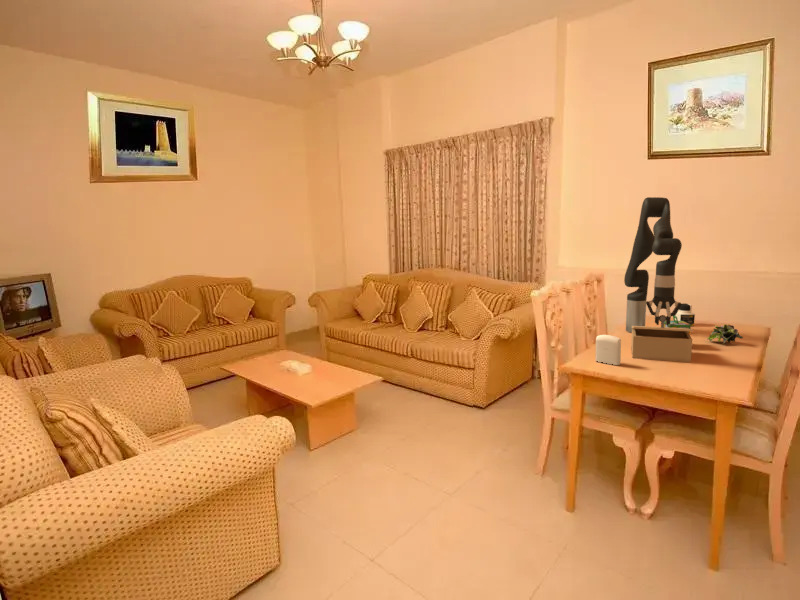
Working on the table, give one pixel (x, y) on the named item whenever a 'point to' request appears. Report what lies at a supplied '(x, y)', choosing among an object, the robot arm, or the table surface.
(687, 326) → the chalk box
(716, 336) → the green leafy plant
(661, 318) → the carton flap
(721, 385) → the table surface
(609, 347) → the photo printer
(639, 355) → the carton
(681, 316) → the medicine bottle
